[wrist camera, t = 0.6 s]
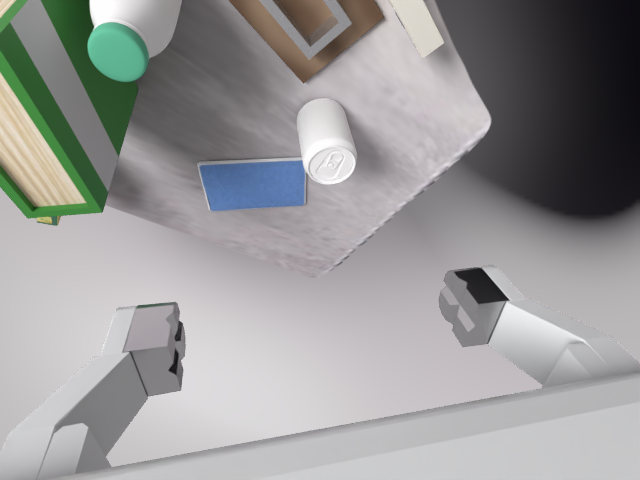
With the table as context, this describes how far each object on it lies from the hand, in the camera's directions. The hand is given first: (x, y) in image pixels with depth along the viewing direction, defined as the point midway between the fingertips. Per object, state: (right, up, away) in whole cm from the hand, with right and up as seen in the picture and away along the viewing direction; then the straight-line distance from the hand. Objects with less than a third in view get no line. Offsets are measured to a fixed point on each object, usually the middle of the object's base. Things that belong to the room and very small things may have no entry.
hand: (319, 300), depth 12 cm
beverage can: (0, +22, +51) cm, 56 cm away
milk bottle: (-20, +33, +33) cm, 51 cm away
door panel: (+10, +34, +38) cm, 52 cm away
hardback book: (-30, +29, +36) cm, 55 cm away
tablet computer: (-12, +13, +61) cm, 64 cm away
